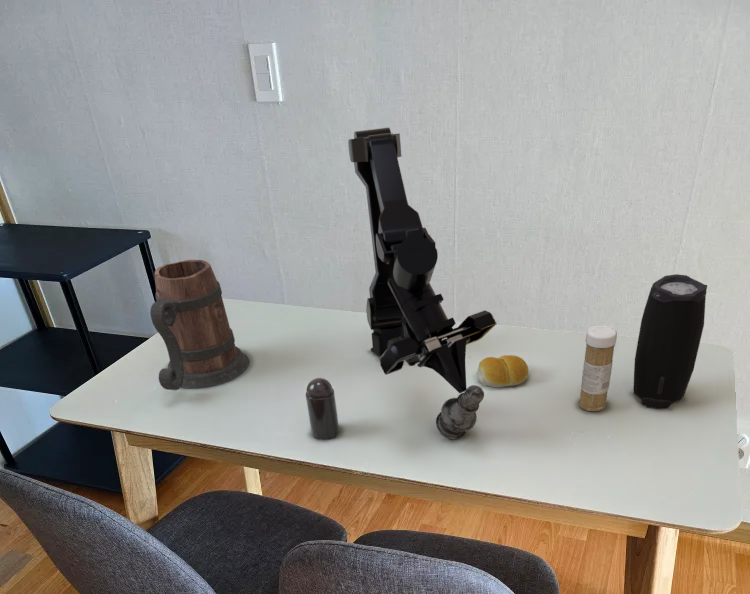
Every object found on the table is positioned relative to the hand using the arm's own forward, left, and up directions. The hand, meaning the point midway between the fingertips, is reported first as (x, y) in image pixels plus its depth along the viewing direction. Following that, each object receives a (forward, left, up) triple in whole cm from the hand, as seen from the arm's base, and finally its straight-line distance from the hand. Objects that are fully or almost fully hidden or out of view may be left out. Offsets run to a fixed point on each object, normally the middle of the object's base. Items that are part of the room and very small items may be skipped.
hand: (463, 391), depth 106 cm
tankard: (+25, -51, -9) cm, 57 cm away
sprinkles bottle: (-23, +5, -9) cm, 25 cm away
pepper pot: (+16, -17, -9) cm, 25 cm away
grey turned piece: (0, -3, -8) cm, 8 cm away
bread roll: (-18, -12, -9) cm, 23 cm away
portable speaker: (-33, +10, -9) cm, 36 cm away
